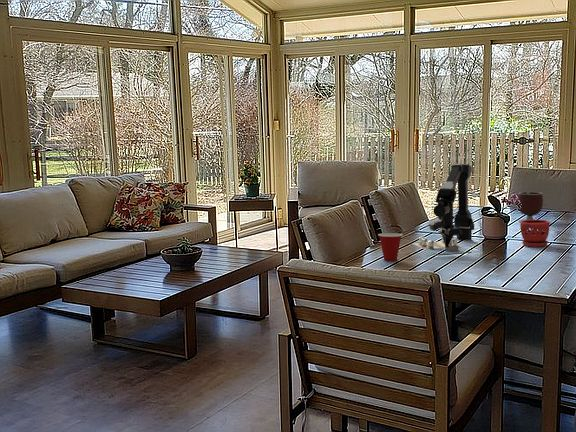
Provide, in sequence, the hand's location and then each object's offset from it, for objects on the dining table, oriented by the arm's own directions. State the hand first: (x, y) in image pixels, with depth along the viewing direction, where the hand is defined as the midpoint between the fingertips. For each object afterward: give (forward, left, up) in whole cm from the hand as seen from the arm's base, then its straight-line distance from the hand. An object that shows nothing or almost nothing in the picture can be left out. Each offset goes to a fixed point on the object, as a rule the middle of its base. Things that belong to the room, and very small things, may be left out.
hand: (446, 246), depth 303 cm
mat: (0, +2, -2) cm, 3 cm away
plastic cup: (+31, +8, -3) cm, 32 cm away
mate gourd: (-80, -60, -3) cm, 100 cm away
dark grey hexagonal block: (-1, +4, -2) cm, 4 cm away
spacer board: (0, -10, -2) cm, 11 cm away
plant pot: (-45, +1, -3) cm, 45 cm away
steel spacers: (0, -10, -1) cm, 10 cm away
